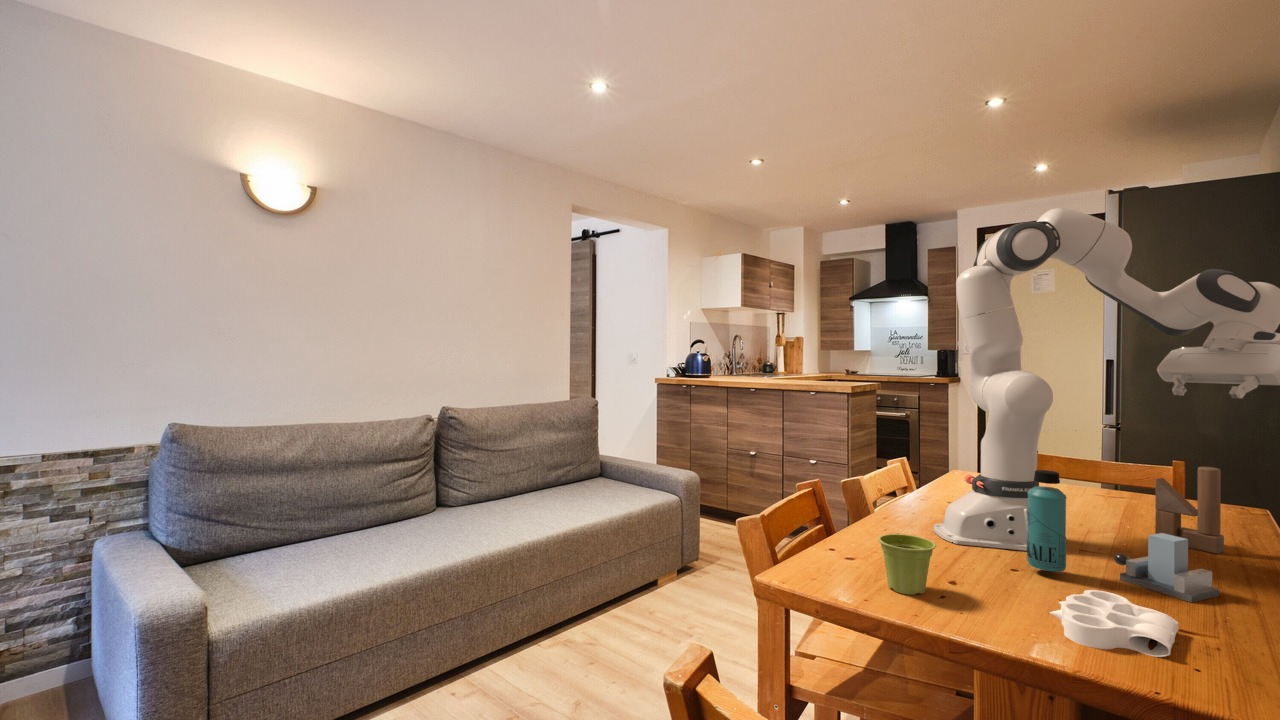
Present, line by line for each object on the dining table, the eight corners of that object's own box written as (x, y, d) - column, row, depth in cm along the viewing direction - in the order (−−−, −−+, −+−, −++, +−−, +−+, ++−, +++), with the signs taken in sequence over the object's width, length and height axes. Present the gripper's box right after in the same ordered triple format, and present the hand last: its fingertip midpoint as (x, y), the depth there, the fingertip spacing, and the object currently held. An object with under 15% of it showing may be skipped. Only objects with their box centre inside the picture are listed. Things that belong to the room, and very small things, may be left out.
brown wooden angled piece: (1161, 538, 137) (1162, 460, 137) (1224, 552, 127) (1224, 468, 127) (1154, 541, 135) (1154, 462, 135) (1217, 554, 125) (1217, 470, 125)
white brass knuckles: (1166, 672, 79) (1038, 635, 90) (1180, 630, 92) (1066, 601, 102) (1167, 647, 79) (1039, 613, 90) (1180, 608, 92) (1066, 582, 102)
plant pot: (881, 576, 113) (881, 530, 113) (935, 584, 109) (936, 537, 109) (875, 593, 105) (875, 544, 105) (934, 603, 101) (935, 552, 101)
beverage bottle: (1060, 569, 116) (1060, 468, 116) (1072, 582, 110) (1073, 475, 110) (1022, 566, 119) (1022, 466, 118) (1031, 577, 112) (1032, 472, 112)
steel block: (1174, 586, 105) (1174, 541, 105) (1148, 578, 109) (1148, 535, 109) (1187, 583, 106) (1188, 539, 106) (1161, 575, 110) (1161, 532, 110)
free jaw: (1134, 577, 109) (1135, 563, 109) (1101, 566, 114) (1101, 553, 114) (1162, 571, 112) (1162, 557, 112) (1128, 561, 117) (1128, 548, 117)
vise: (1191, 602, 101) (1191, 579, 101) (1119, 579, 111) (1120, 558, 111) (1219, 596, 104) (1219, 573, 104) (1146, 574, 114) (1147, 553, 114)
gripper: (1167, 337, 132) (1139, 381, 128) (1294, 333, 113) (1265, 386, 109) (1179, 357, 133) (1152, 401, 130) (1307, 357, 114) (1279, 409, 111)
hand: (1205, 394), depth 120 cm, fingers open, 8 cm apart
